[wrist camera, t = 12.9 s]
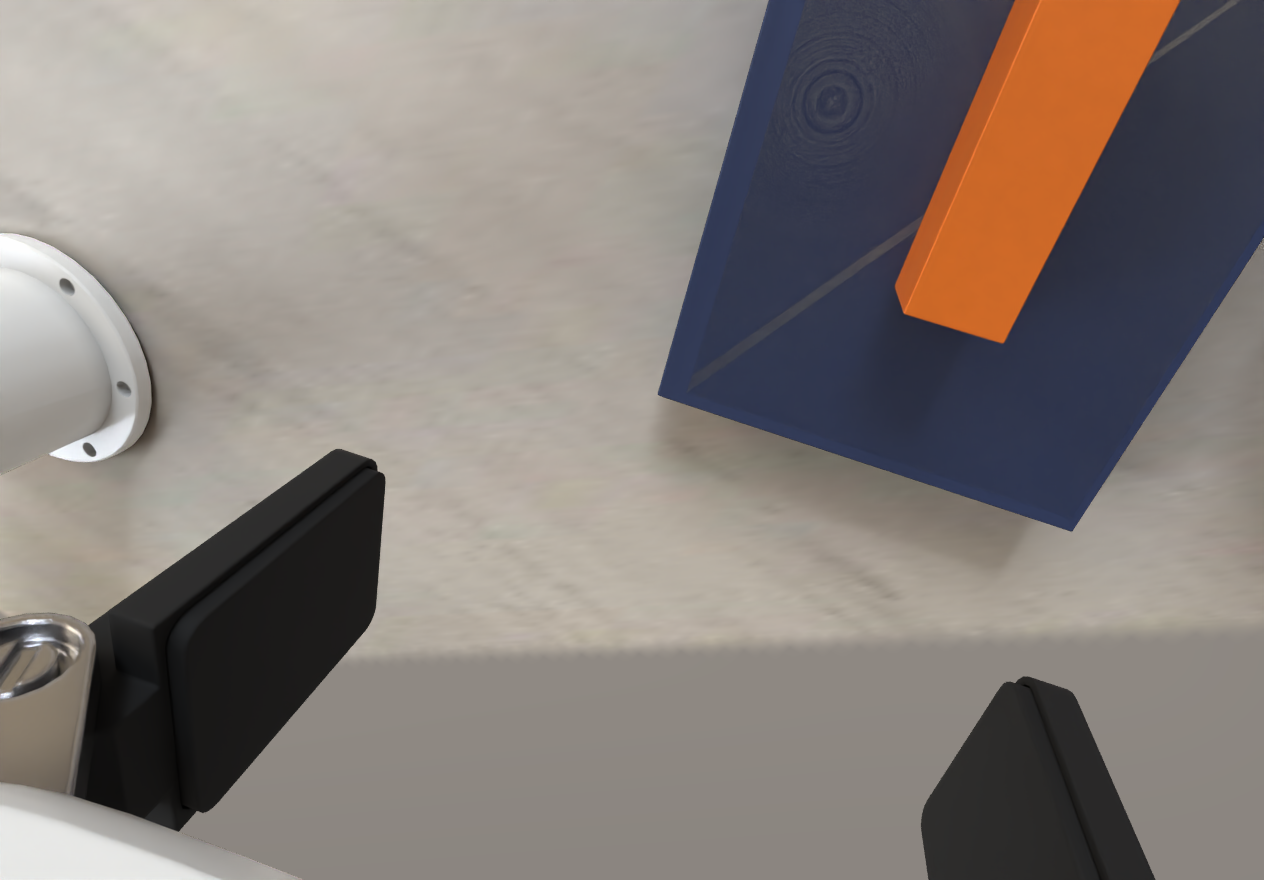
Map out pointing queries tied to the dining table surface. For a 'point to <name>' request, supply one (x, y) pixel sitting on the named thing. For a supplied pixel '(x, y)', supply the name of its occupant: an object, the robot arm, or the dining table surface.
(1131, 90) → the long orange block
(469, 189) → the dining table surface
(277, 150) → the dining table surface
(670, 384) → the book
